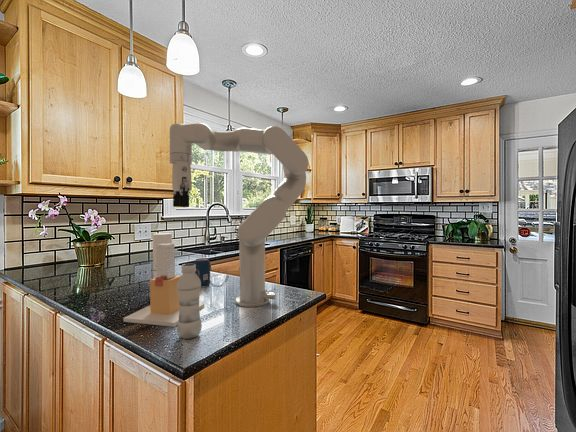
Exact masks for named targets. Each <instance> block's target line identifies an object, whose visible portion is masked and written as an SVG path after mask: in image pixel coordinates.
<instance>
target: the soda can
mask: <svg viewBox="0 0 576 432" xmlns="http://www.w3.org/2000/svg"><path fill="white" fill-rule="evenodd" d="M193 264H195V265H196V271H195V274H196V275H197V276H198V277H199V279H200V281H201V288H206V287H208V286H210V284H211V262H210V259H209V258H208V257H202V258H195V260H194V263H193Z"/></svg>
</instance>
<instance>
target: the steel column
mask: <svg viewBox="0 0 576 432" xmlns="http://www.w3.org/2000/svg"><path fill="white" fill-rule="evenodd" d="M156 258H157V277H164V280H169V279H172V278H174V277H175V276H176V270H175V269H176V266H175V258H176V257H175V243H173V242H172V243H163V244H158V245H156Z"/></svg>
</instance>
